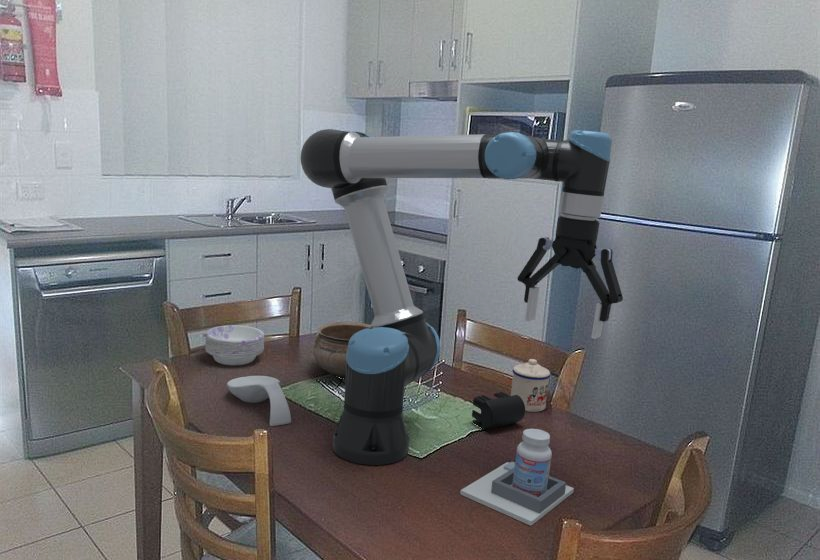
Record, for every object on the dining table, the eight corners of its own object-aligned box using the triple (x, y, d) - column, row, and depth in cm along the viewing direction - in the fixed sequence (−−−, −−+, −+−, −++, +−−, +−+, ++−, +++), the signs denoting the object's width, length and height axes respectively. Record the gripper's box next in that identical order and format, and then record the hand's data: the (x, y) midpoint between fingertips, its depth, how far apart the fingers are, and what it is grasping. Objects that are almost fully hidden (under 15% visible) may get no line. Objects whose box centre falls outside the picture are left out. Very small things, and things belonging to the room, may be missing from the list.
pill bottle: (508, 496, 116) (515, 436, 114) (515, 481, 122) (522, 423, 120) (542, 505, 114) (550, 444, 112) (548, 490, 120) (556, 431, 117)
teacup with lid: (529, 415, 157) (534, 368, 154) (501, 402, 164) (506, 357, 161) (561, 406, 164) (567, 361, 162) (533, 394, 171) (538, 351, 169)
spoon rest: (220, 392, 156) (220, 363, 155) (267, 386, 163) (269, 358, 162) (255, 431, 137) (256, 398, 136) (308, 422, 143) (309, 390, 142)
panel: (460, 494, 117) (461, 478, 117) (506, 465, 130) (508, 451, 129) (530, 526, 109) (532, 509, 108) (573, 492, 121) (575, 477, 121)
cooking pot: (408, 381, 173) (411, 336, 171) (356, 397, 159) (359, 348, 157) (341, 357, 189) (344, 315, 187) (289, 370, 175) (291, 325, 173)
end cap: (490, 435, 144) (493, 405, 142) (469, 423, 149) (472, 394, 148) (524, 427, 149) (527, 399, 148) (502, 416, 155) (505, 388, 154)
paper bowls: (256, 371, 172) (257, 342, 171) (197, 367, 172) (197, 337, 171) (268, 354, 187) (270, 327, 186) (214, 350, 187) (215, 322, 186)
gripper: (653, 227, 118) (633, 341, 122) (528, 207, 133) (513, 311, 137) (639, 228, 112) (618, 348, 116) (509, 208, 127) (495, 315, 131)
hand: (561, 328), depth 127 cm, fingers open, 13 cm apart
